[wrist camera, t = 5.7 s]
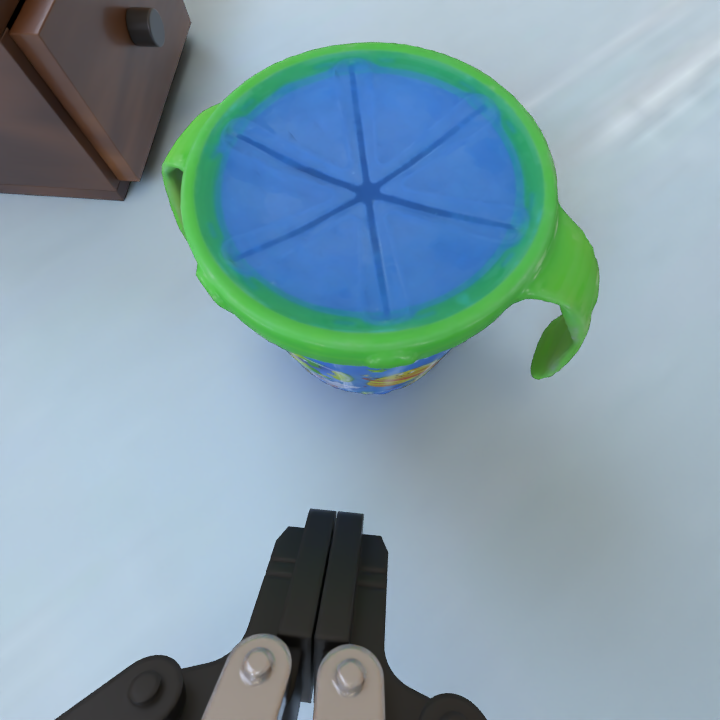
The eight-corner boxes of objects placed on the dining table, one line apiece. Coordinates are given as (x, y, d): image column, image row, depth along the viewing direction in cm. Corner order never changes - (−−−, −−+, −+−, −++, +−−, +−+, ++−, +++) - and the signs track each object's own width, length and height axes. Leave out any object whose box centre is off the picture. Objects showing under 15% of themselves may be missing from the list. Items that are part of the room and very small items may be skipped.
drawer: (210, 23, 28) (152, -152, 21) (161, 183, 24) (68, 35, 17) (17, 16, 29) (-103, -155, 22) (-61, 170, 25) (-243, 23, 18)
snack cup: (563, 308, 22) (709, 143, 12) (470, 506, 19) (567, 489, 9) (293, 184, 25) (244, -26, 15) (177, 338, 22) (25, 197, 12)
